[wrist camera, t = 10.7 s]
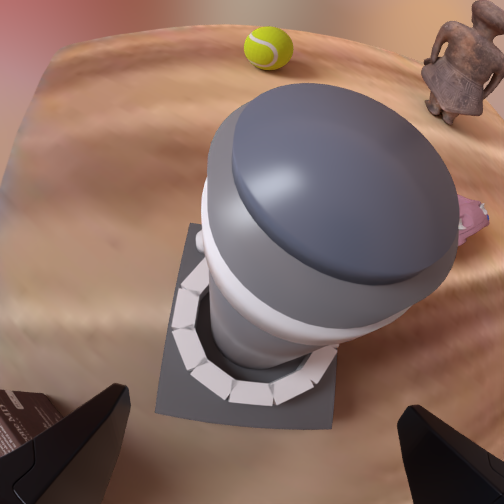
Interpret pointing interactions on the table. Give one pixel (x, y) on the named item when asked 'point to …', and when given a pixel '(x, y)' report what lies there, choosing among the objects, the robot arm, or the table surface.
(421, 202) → the grey travel tumbler
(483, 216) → the video game controller
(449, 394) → the table surface
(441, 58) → the clay figurine
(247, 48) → the tennis ball
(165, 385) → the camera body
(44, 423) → the box
